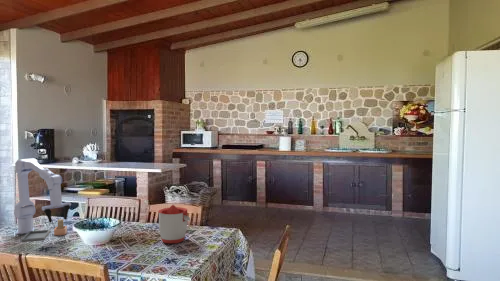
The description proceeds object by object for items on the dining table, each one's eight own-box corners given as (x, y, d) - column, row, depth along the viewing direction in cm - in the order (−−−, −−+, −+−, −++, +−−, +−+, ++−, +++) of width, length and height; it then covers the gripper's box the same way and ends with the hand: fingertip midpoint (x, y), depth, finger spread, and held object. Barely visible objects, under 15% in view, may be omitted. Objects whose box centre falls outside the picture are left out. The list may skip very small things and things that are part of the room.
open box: (56, 233, 212) (56, 226, 212) (67, 232, 214) (67, 225, 214) (54, 236, 207) (54, 229, 207) (65, 235, 209) (65, 228, 208)
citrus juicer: (184, 246, 190) (183, 208, 189) (153, 244, 193) (153, 207, 192) (194, 237, 205) (194, 202, 204) (166, 235, 208) (165, 201, 208)
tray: (29, 234, 211) (29, 231, 211) (50, 232, 214) (50, 229, 214) (21, 242, 196) (21, 239, 195) (44, 240, 199) (44, 237, 199)
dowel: (58, 232, 211) (58, 219, 211) (64, 232, 212) (63, 219, 212) (57, 234, 209) (57, 220, 208) (63, 233, 209) (62, 220, 209)
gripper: (43, 199, 195) (45, 224, 195) (71, 194, 205) (74, 218, 205) (39, 198, 200) (42, 223, 200) (67, 194, 210) (70, 217, 210)
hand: (58, 220), depth 202 cm, fingers open, 7 cm apart
